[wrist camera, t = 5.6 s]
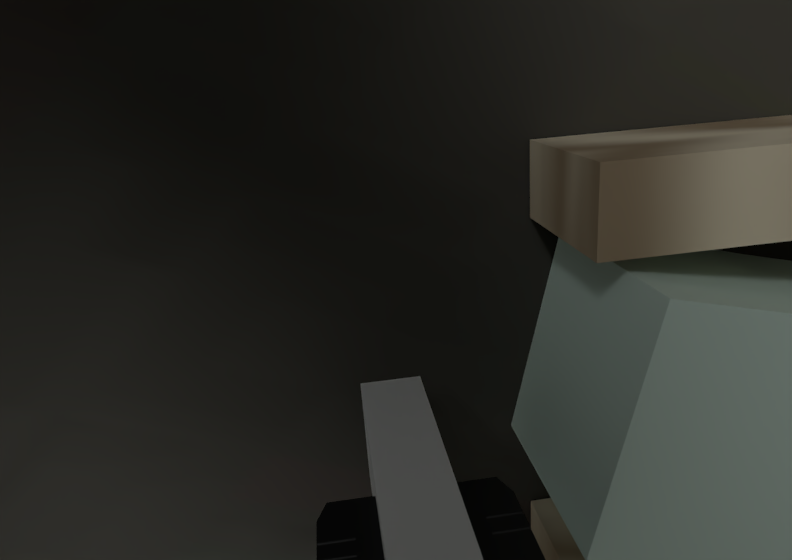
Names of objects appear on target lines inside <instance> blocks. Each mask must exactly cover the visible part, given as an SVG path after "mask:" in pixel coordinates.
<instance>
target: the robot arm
mask: <svg viewBox="0 0 792 560" xmlns="http://www.w3.org/2000/svg"><path fill="white" fill-rule="evenodd" d="M360 385H361V395H362V404H363V414H364V424H365V434H366V444H367V453H368V463H369V473H370V481H371V488H372V496H371V497H364V498H357V499H350V500H343V501H336V502H329V503H326V505H325V507H324V509H323V511H322V513H321V515H320V517H319V518H318V520H317V560H546V559H545V557H544V555H543V553H542V551H541V549H540V547H539V545H538V542H537V540H536V538H535V536H534V534H533V532H532V530H530V526H529V523H528V521H527V519H526V517H525V515H524V514H523V512H522V509H521V507H520V504H519V502H518V500H517V498H516V496H515V494H514V492H513V491H512V490H511V489H510V488H509V487H507V486H506V485H505V484H504V483H503V482H501V481H500V480H499V479H498V478H497V477H493V478H486V479H479V480H472V481H465V482H456V479H455V476H454V473H453V470H452V467H451V464H450V461H449V459H448V456H447V453H446V450H445V447H444V444H443V441H442V438H441V435H440V432H439V430H438V427H437V424H436V421H435V418H434V415H433V412H432V409H431V406H430V404H429V401H428V398H427V395H426V392H425V389H424V386H423V383H422V380H421V378H420V376H417V377H409V378H401V379H393V380H384V381H376V382H368V383H360Z"/></svg>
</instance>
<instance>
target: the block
mask: <svg viewBox="0 0 792 560" xmlns="http://www.w3.org/2000/svg"><path fill="white" fill-rule="evenodd" d="M511 426H512V428H513V430H514V432H515V434H516V436H517V437H518V439H519V441H520V443H521V445H522V446H523V448H524V450H525V452H526V454H527V455H528V457H529V459H530V461H531V463H532V465H533V466H534V468H535V470H536V472H537V474H538V475H539V477H540V479H541V481H542V483H543V484H544V486H545V488H546V490H547V492H548V494H549V495H550V497H551V499H552V501H553V503H554V504H555V506H556V508H557V510H558V512H559V513H560V515H561V517H562V519H563V521H564V522H565V524H566V526H567V528H568V530H569V532H570V533H571V535H572V537H573V539H574V541H575V542H576V544H577V546H578V548H579V550H580V551H581V553H582V555H583V557H584V559H585V560H792V261H790V260H783V259H776V258H769V257H761V256H754V255H747V254H740V253H733V252H725V251H718V250H707V251H698V252H690V253H681V254H672V255H664V256H655V257H646V258H638V259H629V260H620V261H612V262H603V263H596V262H594V261H593V260H591V259H590V258H588V257H587V256H585V255H584V254H583V253H581V252H580V251H578V250H577V249H575V248H574V247H572V246H571V245H569V244H568V243H566V242H565V241H563V240H562V239H561V238H558V241H557V245H556V249H555V253H554V257H553V261H552V265H551V269H550V273H549V277H548V281H547V285H546V289H545V293H544V297H543V301H542V305H541V308H540V312H539V316H538V320H537V324H536V328H535V332H534V336H533V340H532V344H531V348H530V352H529V356H528V360H527V364H526V368H525V372H524V376H523V379H522V383H521V387H520V391H519V395H518V399H517V403H516V407H515V411H514V415H513V419H512V423H511Z"/></svg>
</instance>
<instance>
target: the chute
mask: <svg viewBox="0 0 792 560" xmlns="http://www.w3.org/2000/svg"><path fill="white" fill-rule="evenodd" d="M530 218H531V219H533V220H534V221H536V222H537V223H539V224H540V225H541V226H543V227H544V228H546V229H547V230H549V231H550V232H552V233H553V234H555V235H556V236H558V237H559V238H561V239H562V240H563V241H565V242H566V243H568V244H569V245H571V246H572V247H574V248H575V249H577V250H578V251H580V252H581V253H583V254H584V255H585V256H587V257H588V258H590V259H591V260H593V261H594V262H596V263H603V262H612V261H620V260H629V259H638V258H646V257H655V256H664V255H672V254H681V253H690V252H698V251H707V250H716V249H724V248H733V247H742V246H750V245H759V244H767V243H776V242H785V241H792V115H784V116H774V117H763V118H753V119H742V120H732V121H721V122H710V123H700V124H689V125H679V126H668V127H657V128H647V129H636V130H626V131H615V132H605V133H594V134H583V135H573V136H562V137H552V138H541V139H530ZM531 530H532V532H533V534H534V536H535V538H536V540H537V542H538V545H539V547H540V549H541V551H542V553H543V555H544V557H545V559H546V560H585V559H584V557H583V555H582V553H581V551H580V550H579V548H578V546H577V544H576V542H575V541H574V539H573V537H572V535H571V533H570V532H569V530H568V528H567V526H566V524H565V522H564V521H563V519H562V517H561V515H560V513H559V512H558V510H557V508H556V506H555V504H554V503H553V501H552V499H551V498H546V499H540V500H533V501H531Z"/></svg>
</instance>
